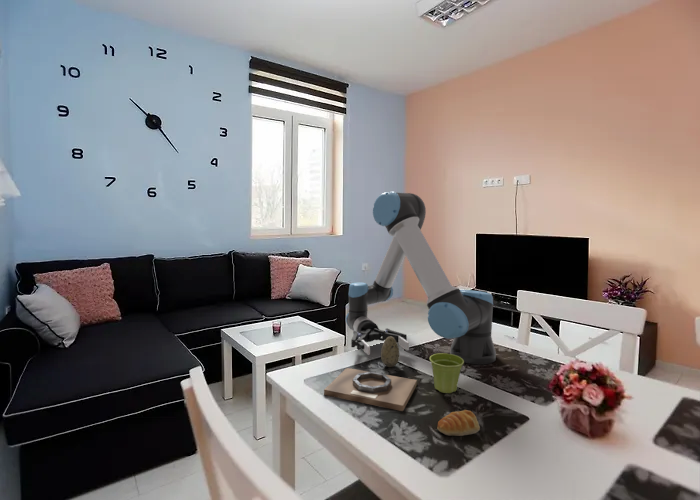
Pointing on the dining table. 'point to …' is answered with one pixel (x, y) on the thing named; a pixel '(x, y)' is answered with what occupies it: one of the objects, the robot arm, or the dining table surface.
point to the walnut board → (390, 399)
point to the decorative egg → (390, 352)
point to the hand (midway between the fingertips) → (388, 348)
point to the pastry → (459, 423)
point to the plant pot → (446, 371)
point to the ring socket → (371, 388)
